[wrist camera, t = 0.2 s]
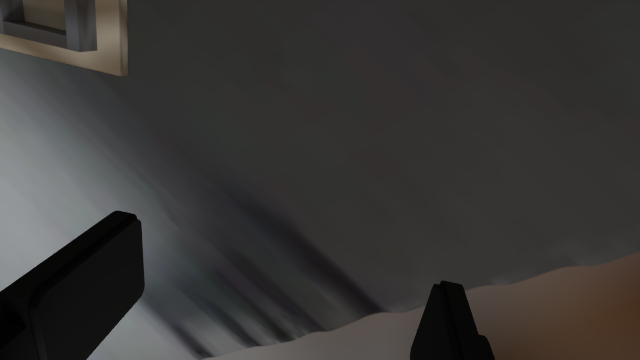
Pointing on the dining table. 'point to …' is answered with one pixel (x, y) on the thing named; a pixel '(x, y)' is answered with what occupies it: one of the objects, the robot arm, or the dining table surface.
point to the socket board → (68, 31)
